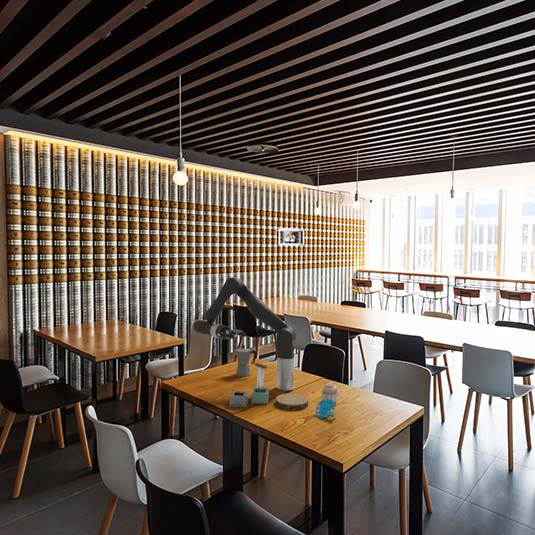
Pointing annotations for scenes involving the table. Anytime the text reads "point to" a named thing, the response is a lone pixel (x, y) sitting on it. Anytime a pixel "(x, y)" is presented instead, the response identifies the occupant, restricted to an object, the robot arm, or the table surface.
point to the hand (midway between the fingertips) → (239, 335)
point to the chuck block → (238, 399)
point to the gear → (325, 409)
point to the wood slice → (292, 401)
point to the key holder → (260, 396)
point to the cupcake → (330, 392)
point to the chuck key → (260, 377)
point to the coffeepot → (244, 361)
